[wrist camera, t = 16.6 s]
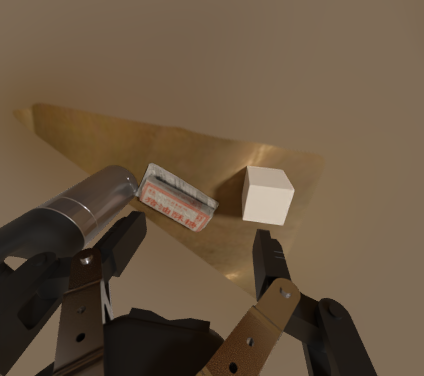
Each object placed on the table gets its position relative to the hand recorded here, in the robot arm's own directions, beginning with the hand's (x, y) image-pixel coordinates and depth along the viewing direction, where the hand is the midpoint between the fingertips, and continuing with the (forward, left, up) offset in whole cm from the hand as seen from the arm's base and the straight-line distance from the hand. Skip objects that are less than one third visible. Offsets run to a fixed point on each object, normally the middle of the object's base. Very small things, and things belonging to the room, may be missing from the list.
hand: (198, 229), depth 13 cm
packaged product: (-13, -11, -27) cm, 32 cm away
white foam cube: (+7, -10, -26) cm, 29 cm away
